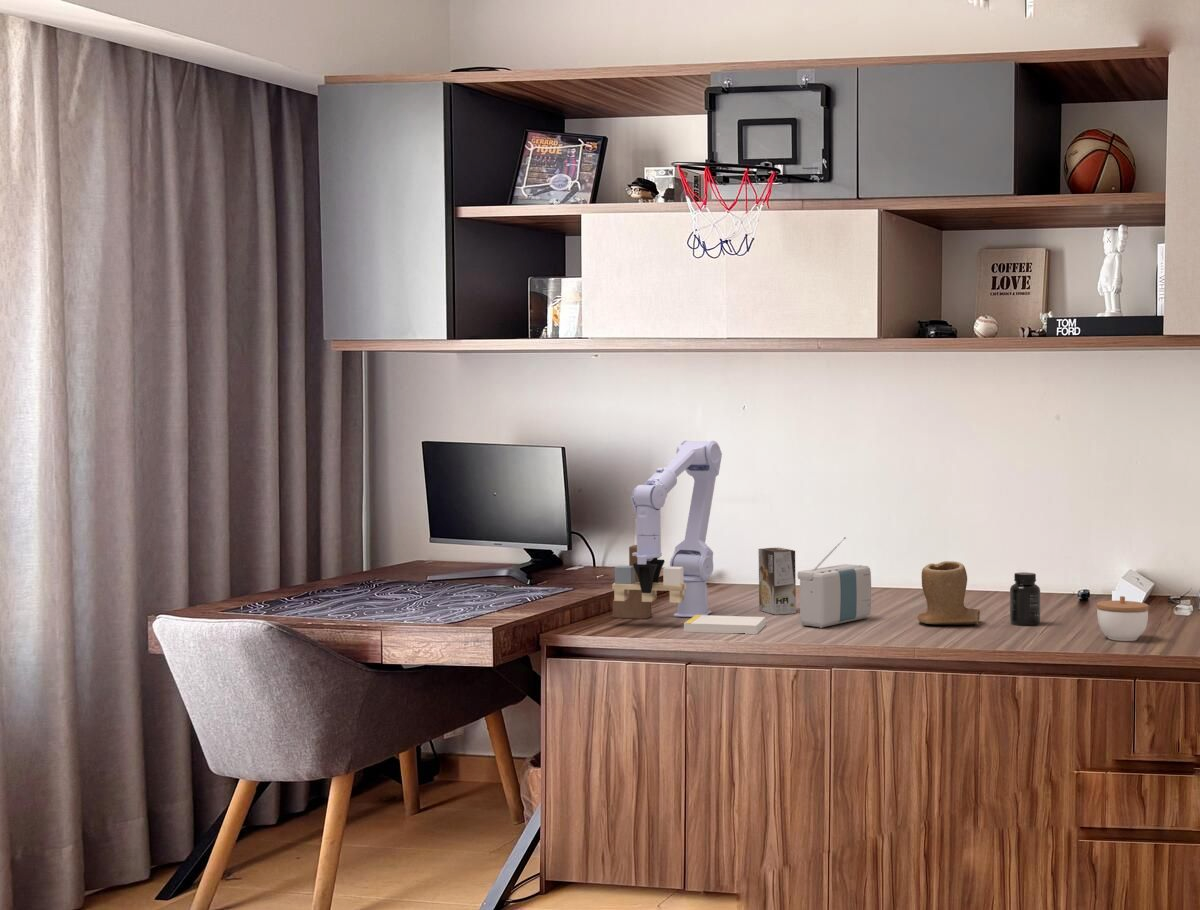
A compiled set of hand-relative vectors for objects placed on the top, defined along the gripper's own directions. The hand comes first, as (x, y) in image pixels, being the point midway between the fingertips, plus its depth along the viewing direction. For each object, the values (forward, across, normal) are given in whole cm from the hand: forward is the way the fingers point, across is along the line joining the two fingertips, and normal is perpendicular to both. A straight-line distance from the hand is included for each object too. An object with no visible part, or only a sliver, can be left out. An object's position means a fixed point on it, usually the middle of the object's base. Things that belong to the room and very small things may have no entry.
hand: (649, 591), depth 320 cm
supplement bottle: (+9, -21, +86) cm, 89 cm away
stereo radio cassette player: (+9, -14, +42) cm, 46 cm away
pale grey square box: (-2, 0, -6) cm, 6 cm away
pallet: (+2, 0, 0) cm, 2 cm away
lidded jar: (+9, -4, +106) cm, 107 cm away
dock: (+8, 0, +18) cm, 20 cm away
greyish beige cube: (-2, 0, +6) cm, 6 cm away
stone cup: (+9, -16, +70) cm, 72 cm away
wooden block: (+8, -12, -8) cm, 17 cm away
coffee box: (+9, -28, +26) cm, 39 cm away
